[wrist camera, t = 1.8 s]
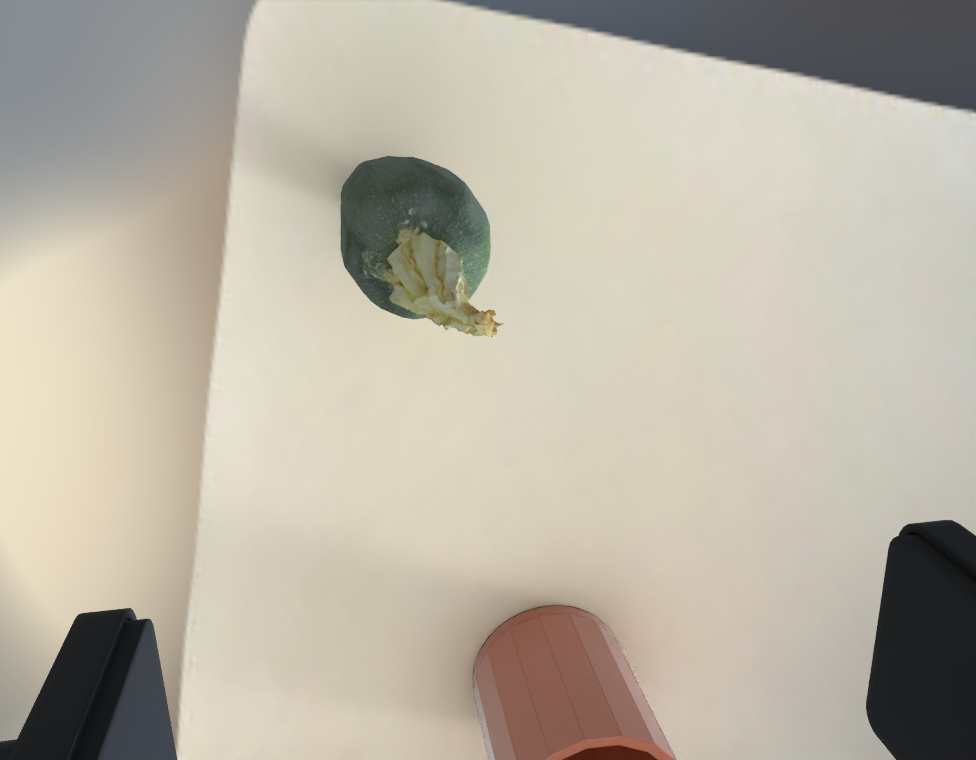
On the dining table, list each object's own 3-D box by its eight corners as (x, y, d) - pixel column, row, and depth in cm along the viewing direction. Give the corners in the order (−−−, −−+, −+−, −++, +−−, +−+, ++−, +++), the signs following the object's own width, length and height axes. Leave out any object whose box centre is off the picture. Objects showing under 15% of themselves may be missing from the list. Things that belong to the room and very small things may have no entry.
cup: (472, 738, 49) (504, 896, 39) (473, 611, 46) (508, 748, 37) (614, 724, 50) (679, 872, 41) (624, 599, 47) (695, 728, 38)
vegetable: (316, 175, 38) (299, 273, 19) (396, 112, 37) (458, 148, 19) (381, 256, 39) (424, 420, 21) (458, 196, 39) (573, 307, 20)
